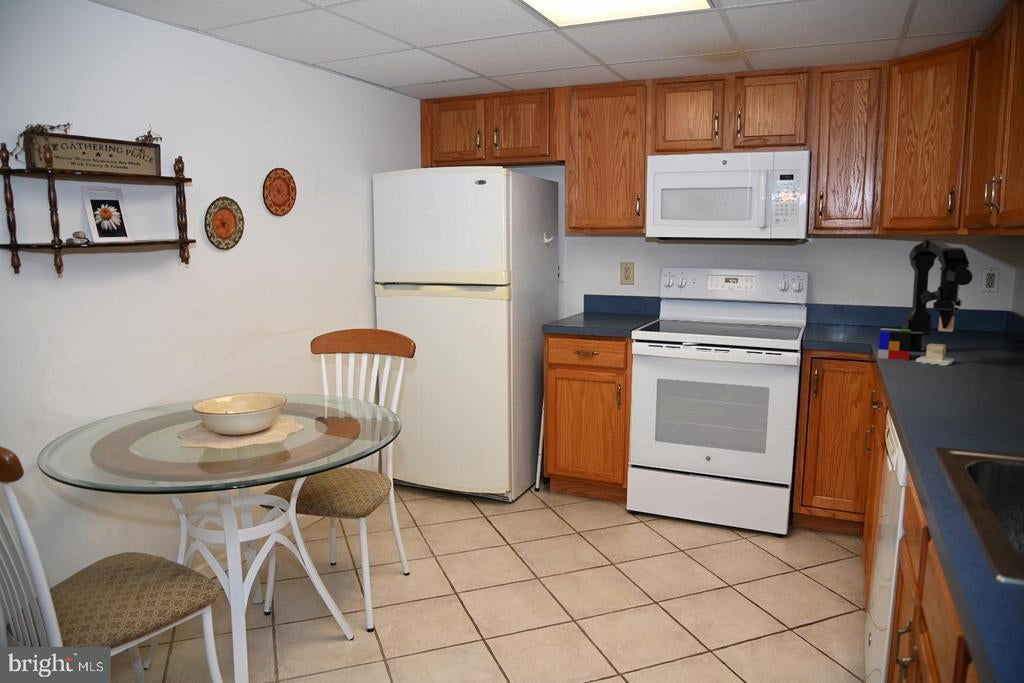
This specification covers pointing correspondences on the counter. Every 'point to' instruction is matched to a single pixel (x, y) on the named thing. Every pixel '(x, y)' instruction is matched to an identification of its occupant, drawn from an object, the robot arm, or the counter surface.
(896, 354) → the puzzle toy
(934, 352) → the maple brick
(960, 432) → the counter surface
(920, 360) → the building plate
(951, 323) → the terracotta brick
